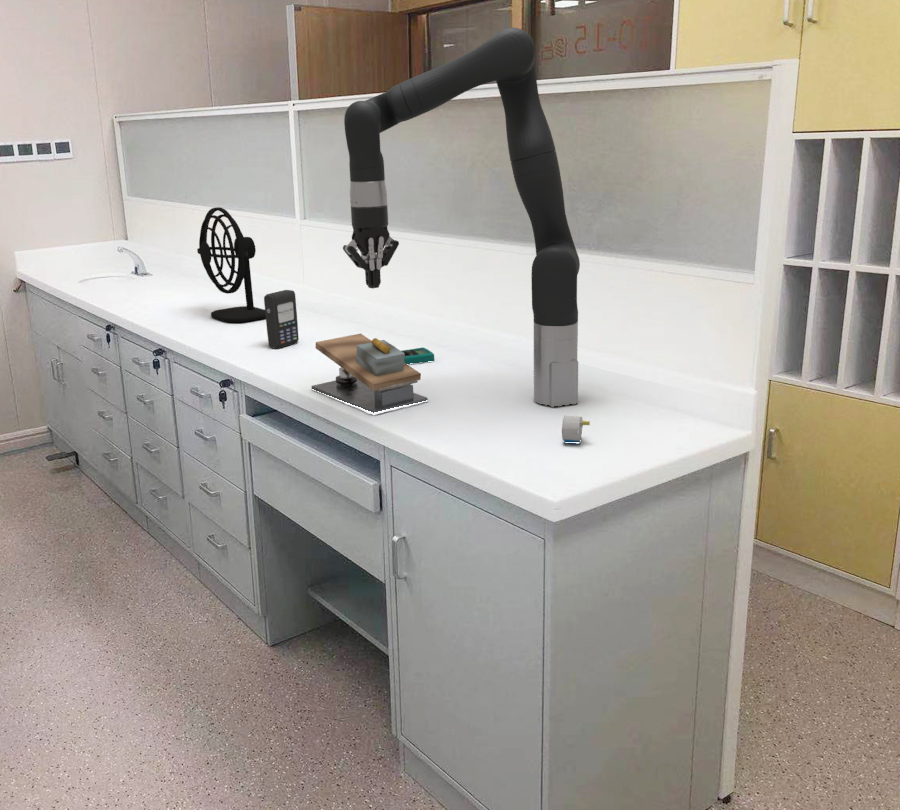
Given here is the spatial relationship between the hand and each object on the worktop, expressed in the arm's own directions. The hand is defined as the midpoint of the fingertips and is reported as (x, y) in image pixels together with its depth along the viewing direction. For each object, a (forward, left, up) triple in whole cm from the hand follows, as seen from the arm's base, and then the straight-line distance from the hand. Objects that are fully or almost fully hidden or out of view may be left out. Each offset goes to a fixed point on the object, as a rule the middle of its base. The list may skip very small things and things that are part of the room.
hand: (373, 287), depth 187 cm
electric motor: (-41, -27, -25) cm, 55 cm away
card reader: (+62, +10, -25) cm, 67 cm away
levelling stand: (+5, +1, -25) cm, 25 cm away
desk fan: (+108, +17, -25) cm, 112 cm away
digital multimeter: (+30, -15, -26) cm, 42 cm away
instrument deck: (+4, +1, -18) cm, 19 cm away
